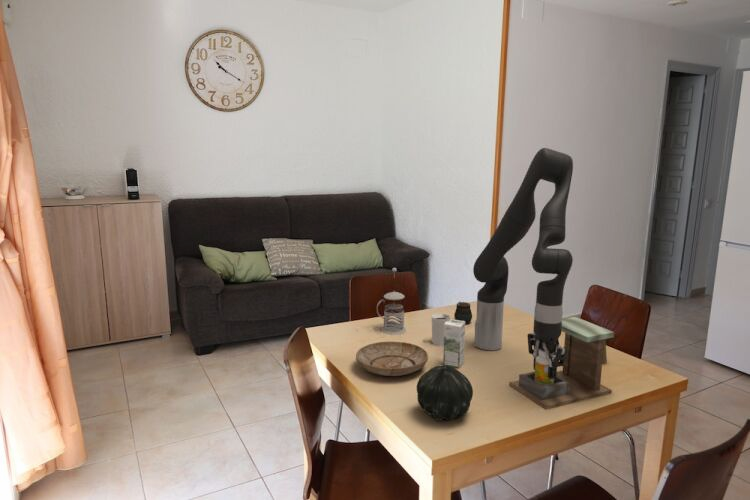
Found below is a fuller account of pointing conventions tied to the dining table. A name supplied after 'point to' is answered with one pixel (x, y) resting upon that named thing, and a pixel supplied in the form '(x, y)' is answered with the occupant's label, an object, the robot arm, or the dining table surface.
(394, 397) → the dining table surface
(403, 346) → the ceramic bowl
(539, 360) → the supplement bottle
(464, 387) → the squash
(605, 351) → the cork
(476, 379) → the dining table surface
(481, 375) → the dining table surface
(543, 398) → the awning stand
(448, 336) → the syrup box
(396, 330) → the french press
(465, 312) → the mate gourd
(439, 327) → the white mug
